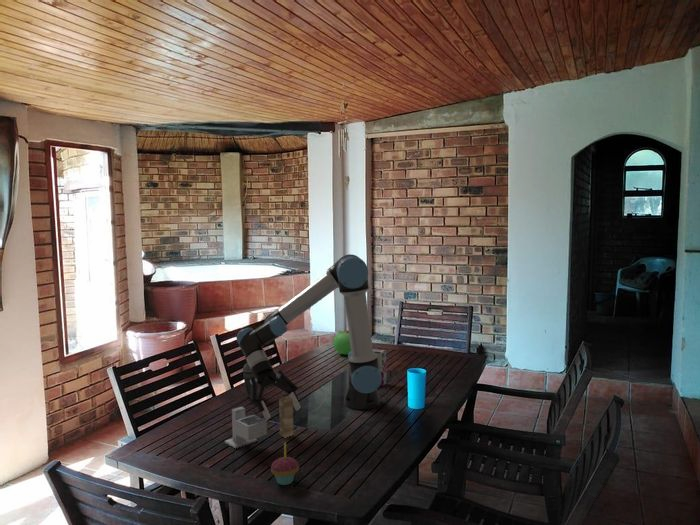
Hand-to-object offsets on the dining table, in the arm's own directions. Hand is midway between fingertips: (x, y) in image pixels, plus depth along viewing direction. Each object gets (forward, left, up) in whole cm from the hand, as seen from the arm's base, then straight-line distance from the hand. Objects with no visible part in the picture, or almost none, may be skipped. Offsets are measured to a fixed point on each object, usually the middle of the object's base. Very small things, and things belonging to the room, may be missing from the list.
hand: (283, 413), depth 193 cm
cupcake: (-13, +31, -9) cm, 35 cm away
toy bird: (+8, -114, -9) cm, 115 cm away
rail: (-1, 0, -8) cm, 8 cm away
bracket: (+10, +11, -8) cm, 17 cm away
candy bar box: (-18, -66, -9) cm, 69 cm away
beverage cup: (+31, -35, -8) cm, 48 cm away
